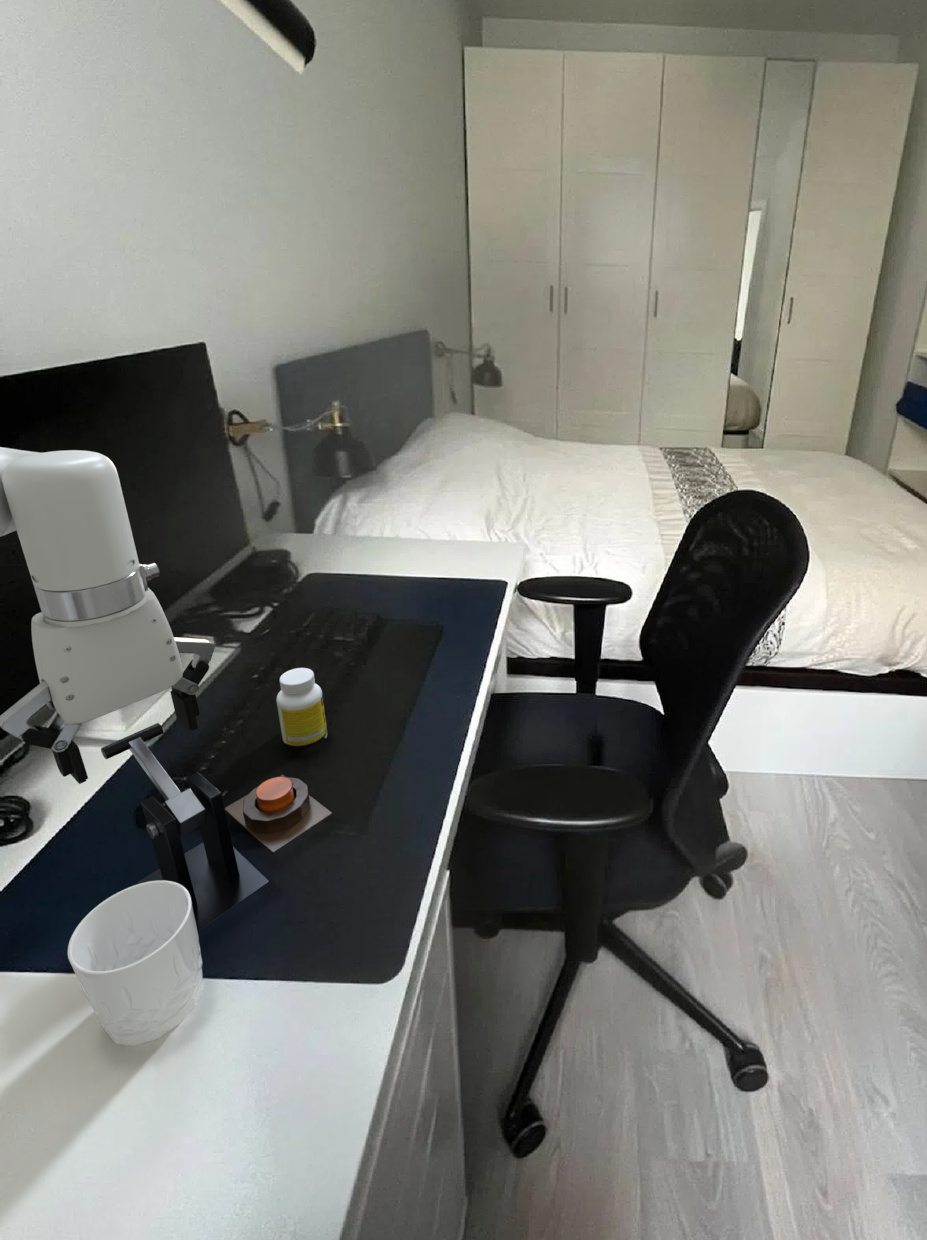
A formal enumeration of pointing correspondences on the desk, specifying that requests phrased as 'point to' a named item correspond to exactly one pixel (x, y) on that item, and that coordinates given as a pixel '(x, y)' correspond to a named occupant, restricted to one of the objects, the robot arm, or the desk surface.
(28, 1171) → the desk surface
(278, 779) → the button
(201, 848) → the bracket
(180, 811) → the lever
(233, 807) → the button box
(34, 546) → the robot arm
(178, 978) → the white cup
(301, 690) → the supplement bottle
